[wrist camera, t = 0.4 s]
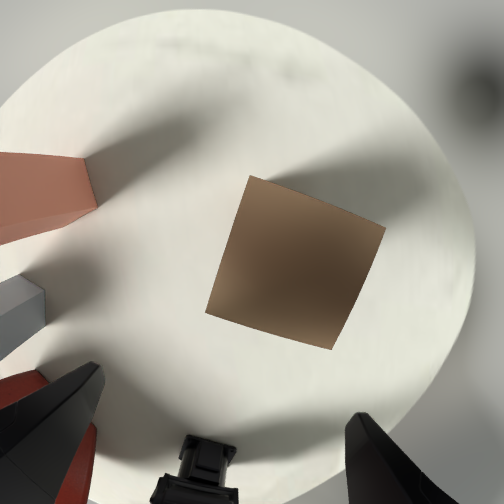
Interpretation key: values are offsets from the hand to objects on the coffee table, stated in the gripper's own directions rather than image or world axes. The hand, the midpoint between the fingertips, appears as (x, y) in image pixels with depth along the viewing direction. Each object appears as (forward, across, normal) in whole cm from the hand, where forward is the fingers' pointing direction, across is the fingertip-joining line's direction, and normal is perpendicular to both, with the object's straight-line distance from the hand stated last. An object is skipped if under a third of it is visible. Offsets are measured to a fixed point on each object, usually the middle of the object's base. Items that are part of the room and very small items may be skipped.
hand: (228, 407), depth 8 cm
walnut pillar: (+16, -2, -2) cm, 16 cm away
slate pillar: (+14, +24, +12) cm, 30 cm away
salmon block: (+16, +18, -2) cm, 24 cm away
